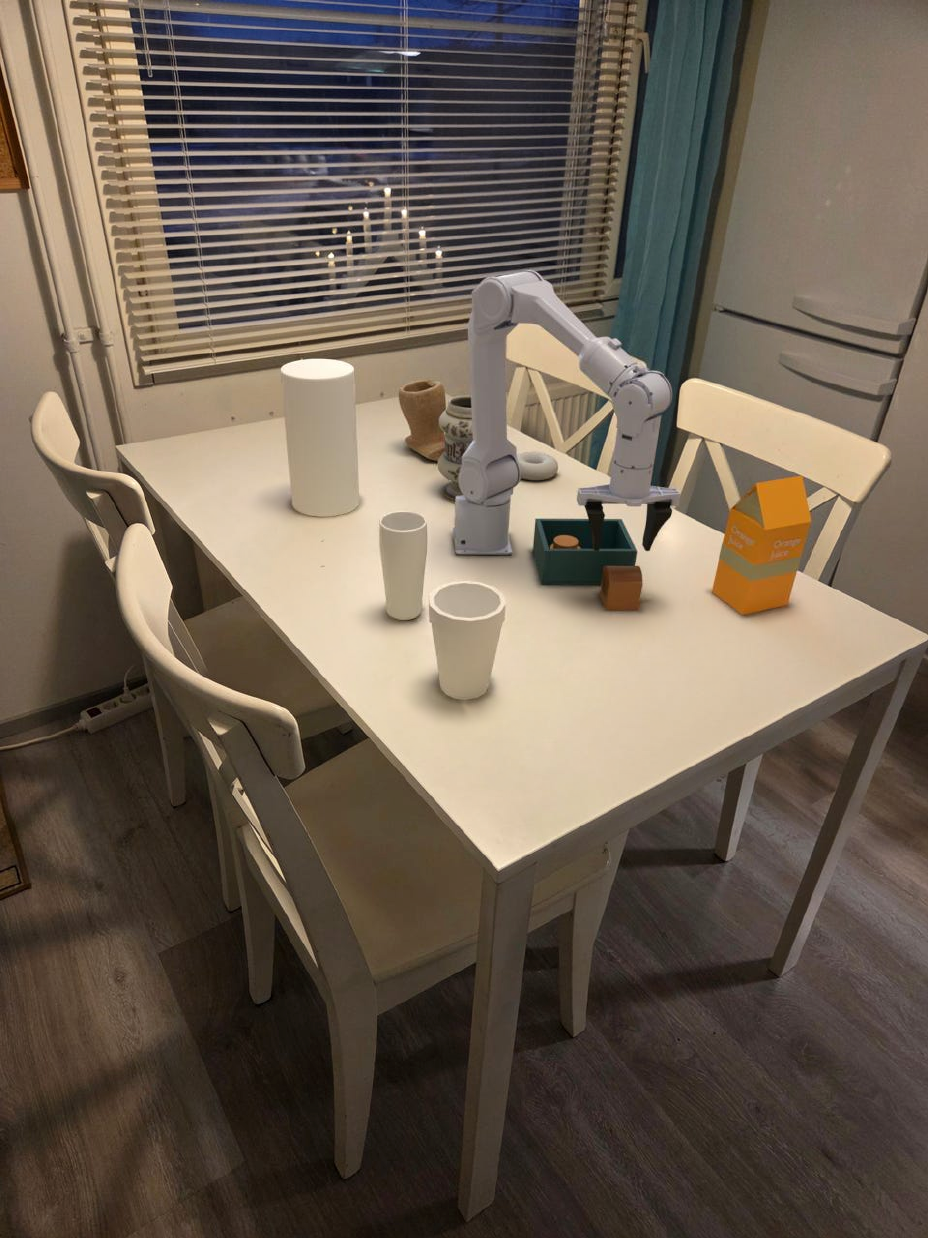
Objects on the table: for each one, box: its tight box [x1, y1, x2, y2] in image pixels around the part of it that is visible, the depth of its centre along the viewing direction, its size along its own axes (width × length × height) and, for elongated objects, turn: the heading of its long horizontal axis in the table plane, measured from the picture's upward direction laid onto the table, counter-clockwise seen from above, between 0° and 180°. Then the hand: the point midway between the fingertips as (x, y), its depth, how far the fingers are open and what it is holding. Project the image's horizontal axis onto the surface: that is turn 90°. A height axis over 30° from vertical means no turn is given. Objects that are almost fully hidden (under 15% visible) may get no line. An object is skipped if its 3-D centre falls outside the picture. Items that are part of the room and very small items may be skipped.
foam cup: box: [428, 580, 507, 701], centre depth 104 cm, size 10×9×13 cm
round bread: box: [550, 535, 580, 549], centre depth 134 cm, size 5×5×5 cm
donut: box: [517, 451, 559, 481], centre depth 169 cm, size 10×4×10 cm
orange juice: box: [711, 475, 812, 616], centre depth 124 cm, size 8×9×20 cm
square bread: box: [599, 565, 644, 611], centre depth 126 cm, size 5×5×6 cm
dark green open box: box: [532, 518, 638, 586], centre depth 135 cm, size 15×12×6 cm
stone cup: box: [398, 379, 447, 462], centre depth 174 cm, size 15×12×15 cm
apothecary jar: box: [436, 395, 473, 502], centre depth 156 cm, size 12×12×18 cm
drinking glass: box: [378, 510, 428, 621], centre depth 119 cm, size 7×7×15 cm
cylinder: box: [280, 358, 360, 518], centre depth 148 cm, size 12×12×25 cm
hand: (620, 547), depth 123 cm, fingers open, 7 cm apart
